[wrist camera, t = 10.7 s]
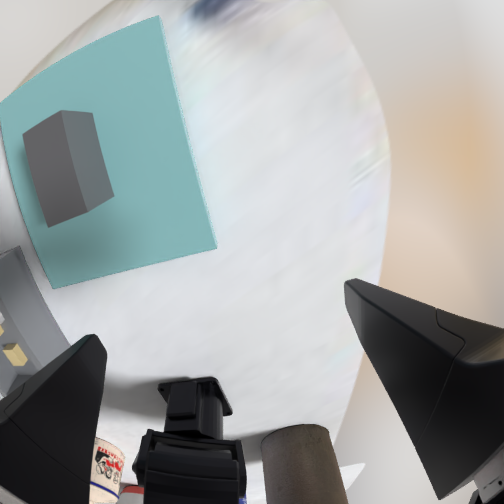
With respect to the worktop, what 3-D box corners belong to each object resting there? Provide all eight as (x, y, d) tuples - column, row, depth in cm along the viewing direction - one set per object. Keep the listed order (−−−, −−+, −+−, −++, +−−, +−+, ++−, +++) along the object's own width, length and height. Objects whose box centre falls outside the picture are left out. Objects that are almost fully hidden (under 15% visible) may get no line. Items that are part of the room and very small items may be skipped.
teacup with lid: (137, 461, 34) (128, 518, 23) (99, 459, 35) (87, 509, 24) (91, 422, 29) (71, 488, 19) (54, 421, 30) (33, 477, 19)
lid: (218, 237, 21) (213, 276, 15) (64, 277, 21) (29, 315, 16) (165, 26, 14) (142, -11, 9) (13, 104, 15) (-35, 105, 9)
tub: (91, 376, 26) (77, 409, 21) (21, 376, 26) (7, 400, 21) (19, 245, 19) (-13, 269, 15) (-39, 273, 20) (-62, 293, 15)
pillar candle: (326, 415, 31) (354, 517, 17) (331, 445, 34) (352, 527, 20) (251, 433, 31) (260, 536, 17) (268, 459, 35) (278, 542, 21)
